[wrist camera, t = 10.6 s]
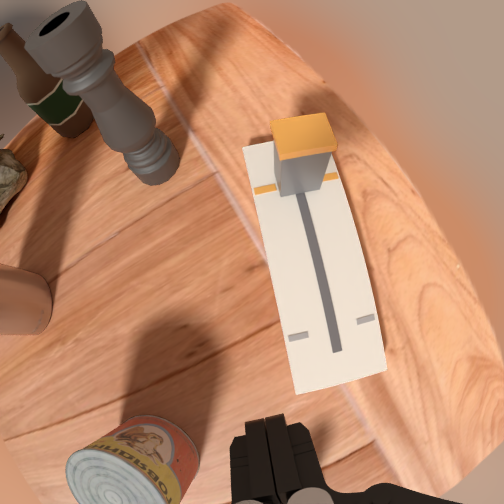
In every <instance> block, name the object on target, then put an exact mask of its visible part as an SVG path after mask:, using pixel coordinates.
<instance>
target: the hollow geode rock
mask: <svg viewBox="0 0 504 504" xmlns="http://www.w3.org/2000/svg"><path fill="white" fill-rule="evenodd" d="M3 136H4V134H2V135H0V140H1V139H2V138H3ZM26 182H27V171H26V169H25V168H24V167H23V166H22V164H21V163H20V162H19V161H17V160H16V159H15V157H14V154H13V153H12V151H11V150H9V149H0V213H1V211H2V210H3V208H4V207H5V206H6V204H7V203H8V202H9V200H10V199H11V198H12V197H13V196H14V195H15V194H16V193H18V192H19V191H20V190H21V189H22V188H23V187H24V185H25V184H26Z"/></svg>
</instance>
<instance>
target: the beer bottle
mask: <svg viewBox="0 0 504 504" xmlns="http://www.w3.org/2000/svg"><path fill="white" fill-rule="evenodd" d="M12 26H13V25H12V24H10V23H7V24H5V25H3V26H2V27H0V54H1V56H2V57H3V58H4V60H5V61H6V62H7V63H8V64H9V66H10V67H11V68H12V70H13V72H14V73H15V75H16V77H17V89H18V91H19V94H20V97H21V98H22V99H23V100H24V101H25V102H26V104H27V105H28V106H29V107H31V108H32V110H34V111H35V112H36V113H37V114H38V115H39V116H40V117H41V118H42V119H43V120H44V121H45V122H46V123H48V124H49V125H50V126H51V127H52V128H53V129H54V130H55V131H56V132H58V133H59V134H60V135H61V136H63V137H73V138H75V137H77V136H78V135H79V134H81V133H82V132H84V131H85V130H86V129H88V128H89V126H90V124H91V122H92V121H93V119H94V116H93V114H92V111H91V109H90V108H89V107H88V106H87V104H86V103H85V102H84V101H83V100H82V98H81V97H80V96H79V95H77V96H75V95H69V94H67V93H66V91H65V90H64V89H63V80H64V79H61V78H60V77H53V76H52V75H51V74H46V73H45V72H44V71H43V69H42V68H41V67H40V66H39V65H38V64H37V62H36V61H35V60H34V59H33V58H32V57H31V55H30V54H29V53H28V52H27V51H26V50H25V48H24V46H25V43H26V42H25V41H24V40H23V39H22V38H21V37H20V36H19V35H18V34H17V33H16V32H15V31H14V30H13V29H12Z"/></svg>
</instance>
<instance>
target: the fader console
mask: <svg viewBox="0 0 504 504" xmlns="http://www.w3.org/2000/svg"><path fill="white" fill-rule="evenodd" d="M242 149H243V154H244V158H245V163H246V167H247V171H248V176H249V180H250V184H251V189H252V193H253V198H254V202H255V207H256V211H257V215H258V220H259V224H260V229H261V233H262V238H263V242H264V247H265V252H266V256H267V261H268V265H269V270H270V274H271V279H272V284H273V288H274V293H275V298H276V302H277V307H278V312H279V316H280V321H281V326H282V331H283V335H284V340H285V345H286V350H287V355H288V359H289V364H290V369H291V374H292V379H293V384H294V389H295V393H296V395H298V394H303V393H307V392H311V391H316V390H320V389H324V388H328V387H332V386H335V385H339V384H343V383H346V382H350V381H353V380H357V379H360V378H363V377H367V376H370V375H373V374H376V373H379V372H382V371H385V370H387V365H386V358H385V352H384V347H383V341H382V336H381V330H380V325H379V320H378V315H377V311H376V306H375V301H374V297H373V292H372V288H371V284H370V280H369V276H368V272H367V268H366V264H365V260H364V256H363V252H362V248H361V245H360V241H359V237H358V234H357V230H356V227H355V223H354V220H353V217H352V213H351V210H350V207H349V204H348V201H347V197H346V194H345V191H344V188H343V185H342V182H341V179H340V176H339V173H338V170H337V167H336V165H335V162H334V159H333V156H332V154H331V157H330V160H329V163H328V166H327V169H326V172H325V175H324V178H323V182H322V185H321V188H320V190H315V191H309V192H304V193H299V194H294V195H289V196H284V197H280V193H279V189H278V185H277V182H276V178H275V174H274V145H273V141H270V142H265V143H260V144H255V145H250V146H246V147H242Z"/></svg>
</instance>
